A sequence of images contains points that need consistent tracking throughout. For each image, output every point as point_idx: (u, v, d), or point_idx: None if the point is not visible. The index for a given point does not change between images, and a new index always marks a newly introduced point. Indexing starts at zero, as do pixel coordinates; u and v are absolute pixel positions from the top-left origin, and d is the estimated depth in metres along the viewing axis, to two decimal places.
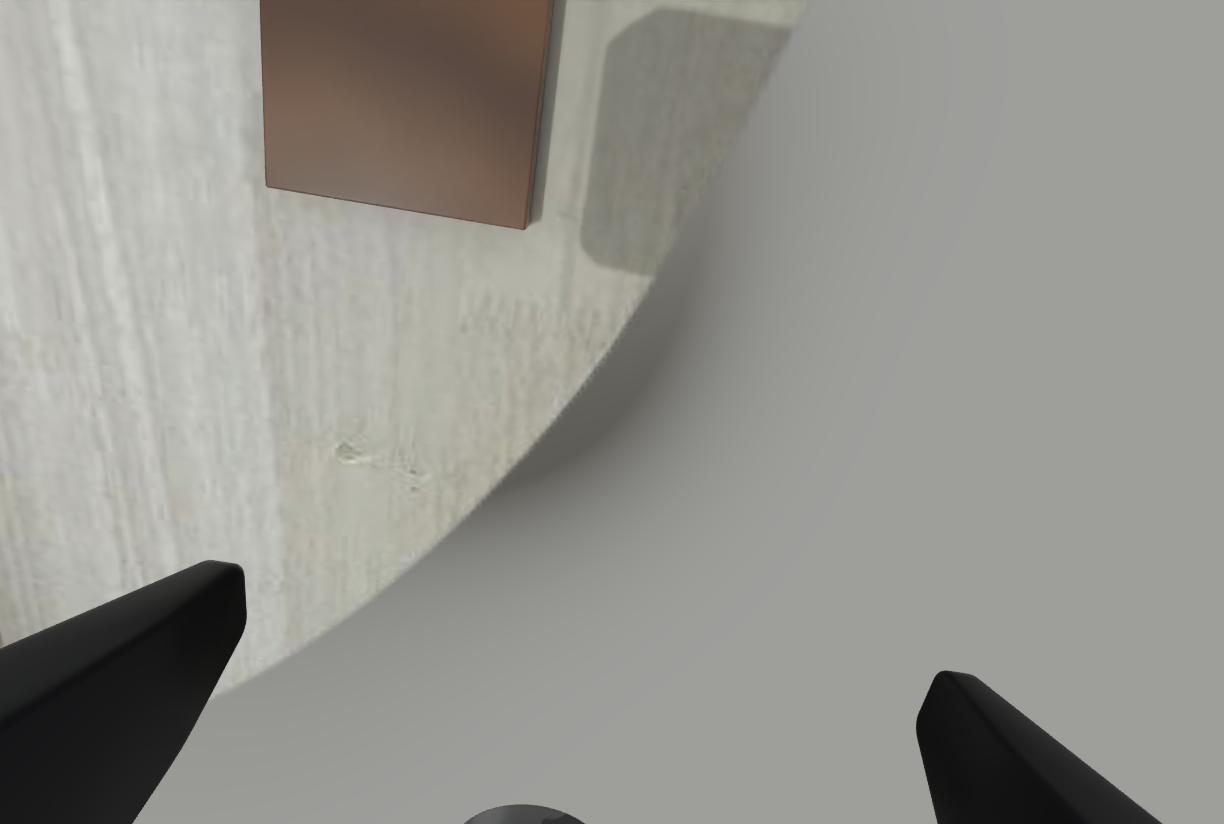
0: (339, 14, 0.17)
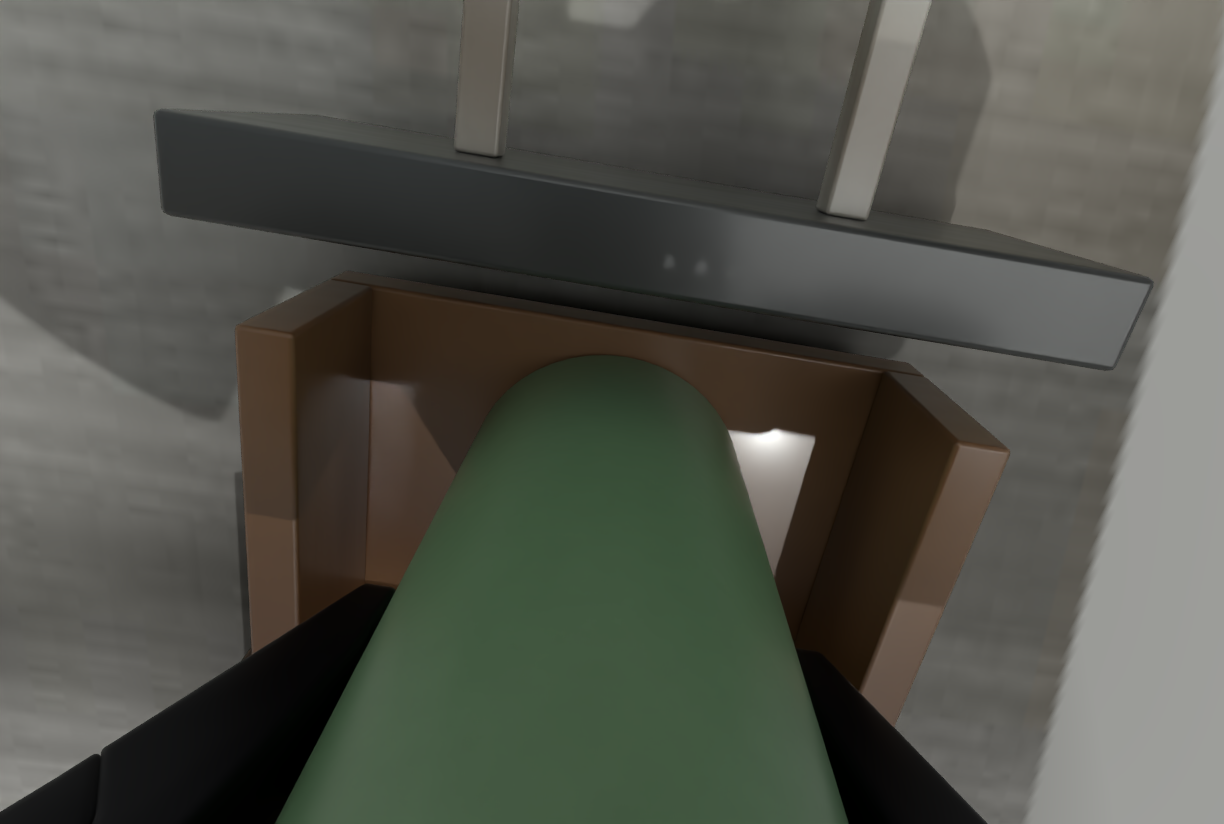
0: None
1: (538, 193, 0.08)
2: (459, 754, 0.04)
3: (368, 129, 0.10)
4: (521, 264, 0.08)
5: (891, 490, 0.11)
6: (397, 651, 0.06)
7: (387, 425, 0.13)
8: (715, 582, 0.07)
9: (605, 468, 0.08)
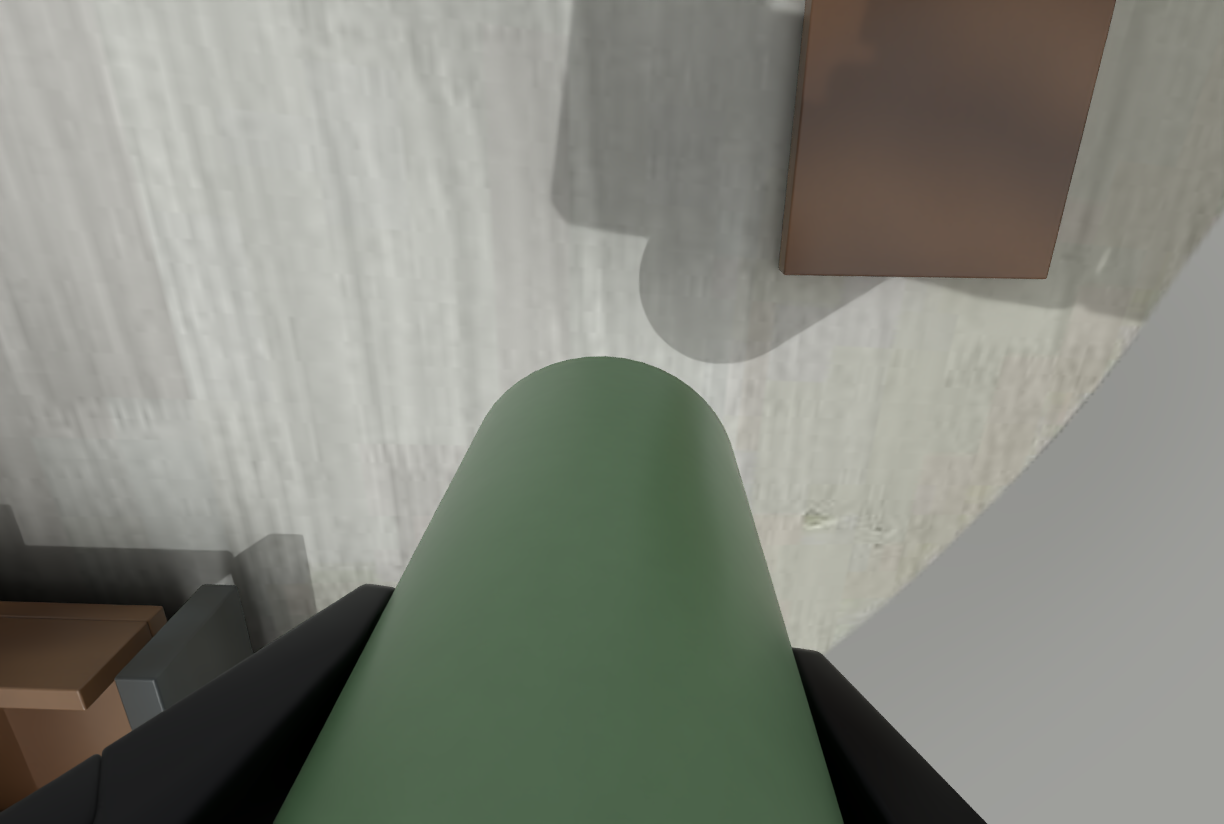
0: (882, 97, 0.17)
1: None
2: (454, 759, 0.04)
3: (221, 652, 0.22)
4: None
5: None
6: (394, 653, 0.06)
7: None
8: (712, 583, 0.07)
9: (602, 470, 0.08)
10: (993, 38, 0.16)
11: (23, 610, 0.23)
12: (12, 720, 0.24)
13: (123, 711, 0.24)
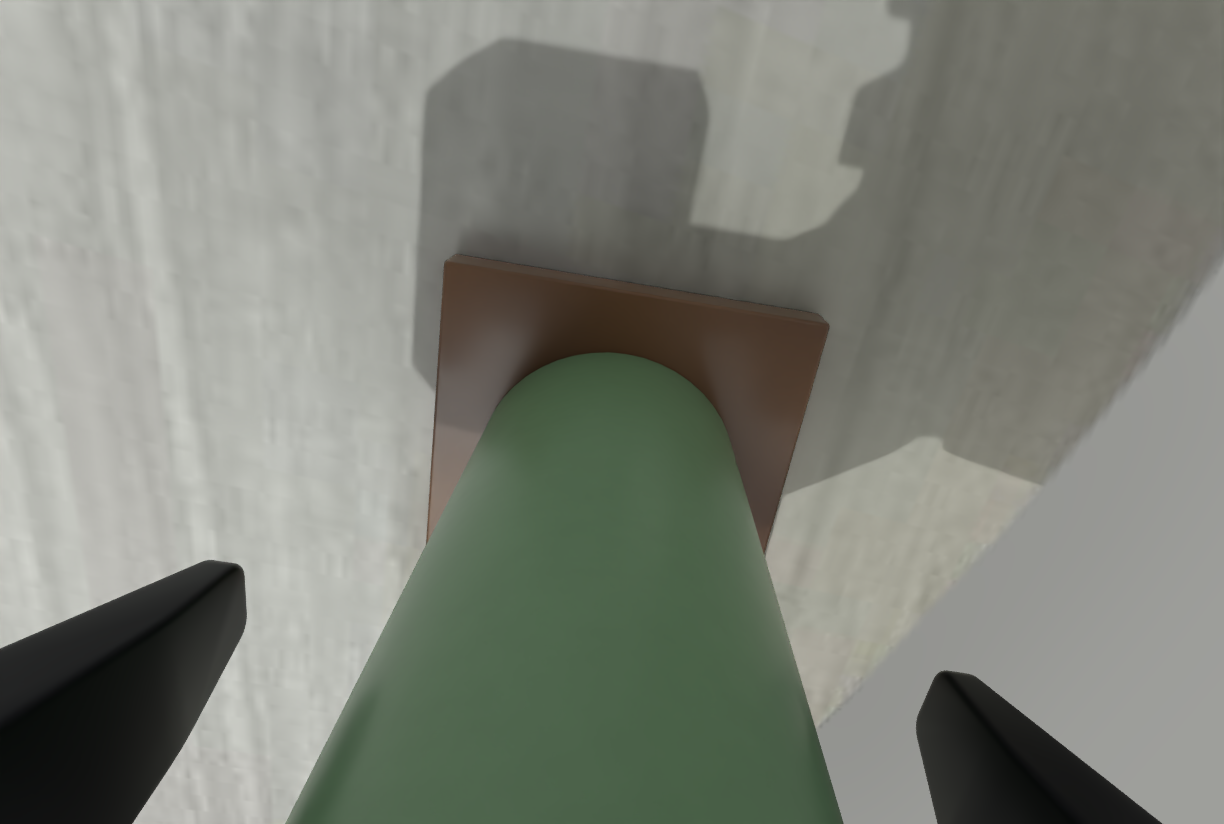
0: None
1: None
2: (481, 699, 0.05)
3: None
4: None
5: None
6: (420, 617, 0.06)
7: None
8: (709, 558, 0.07)
9: (607, 455, 0.09)
10: (671, 369, 0.13)
11: None
12: None
13: None
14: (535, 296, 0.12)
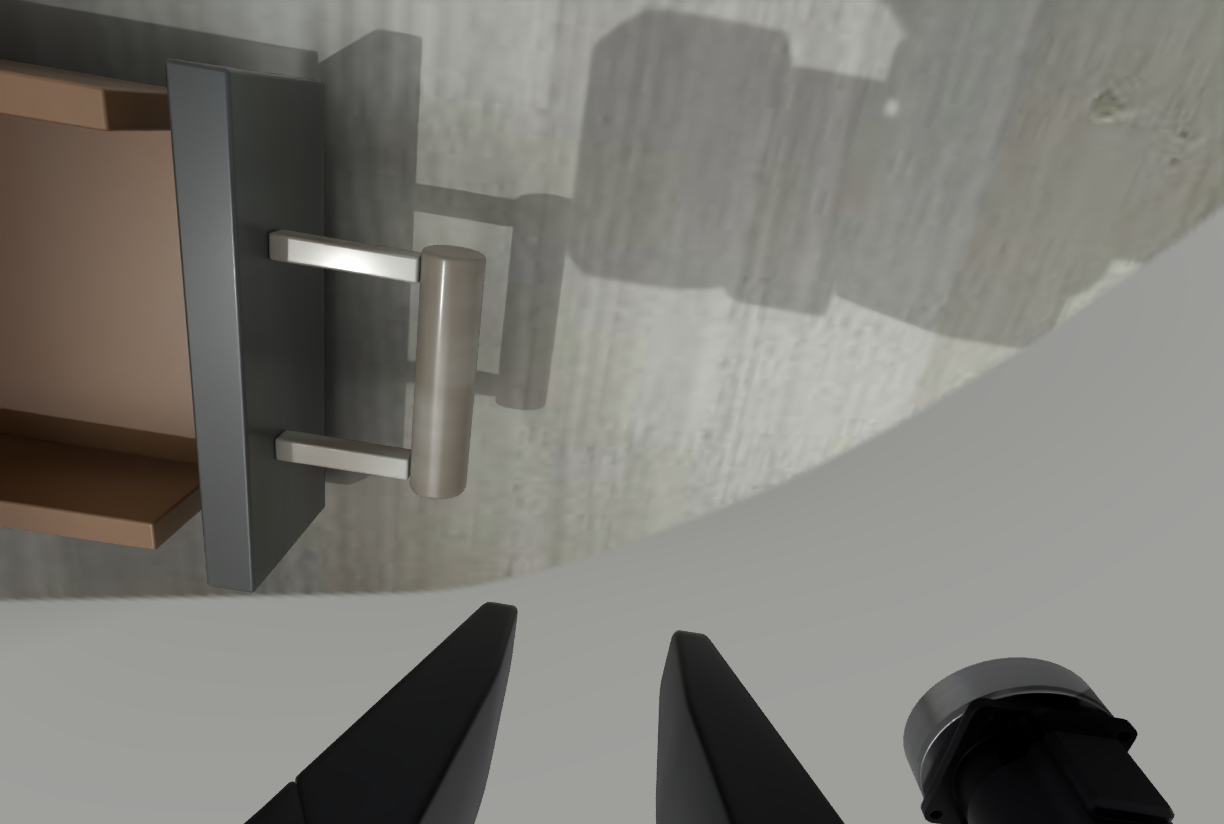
0: None
1: (229, 304, 0.14)
2: None
3: (297, 150, 0.16)
4: (187, 292, 0.14)
5: (127, 489, 0.18)
6: None
7: None
8: None
9: None
10: None
11: (13, 61, 0.16)
12: None
13: (133, 253, 0.17)
14: None
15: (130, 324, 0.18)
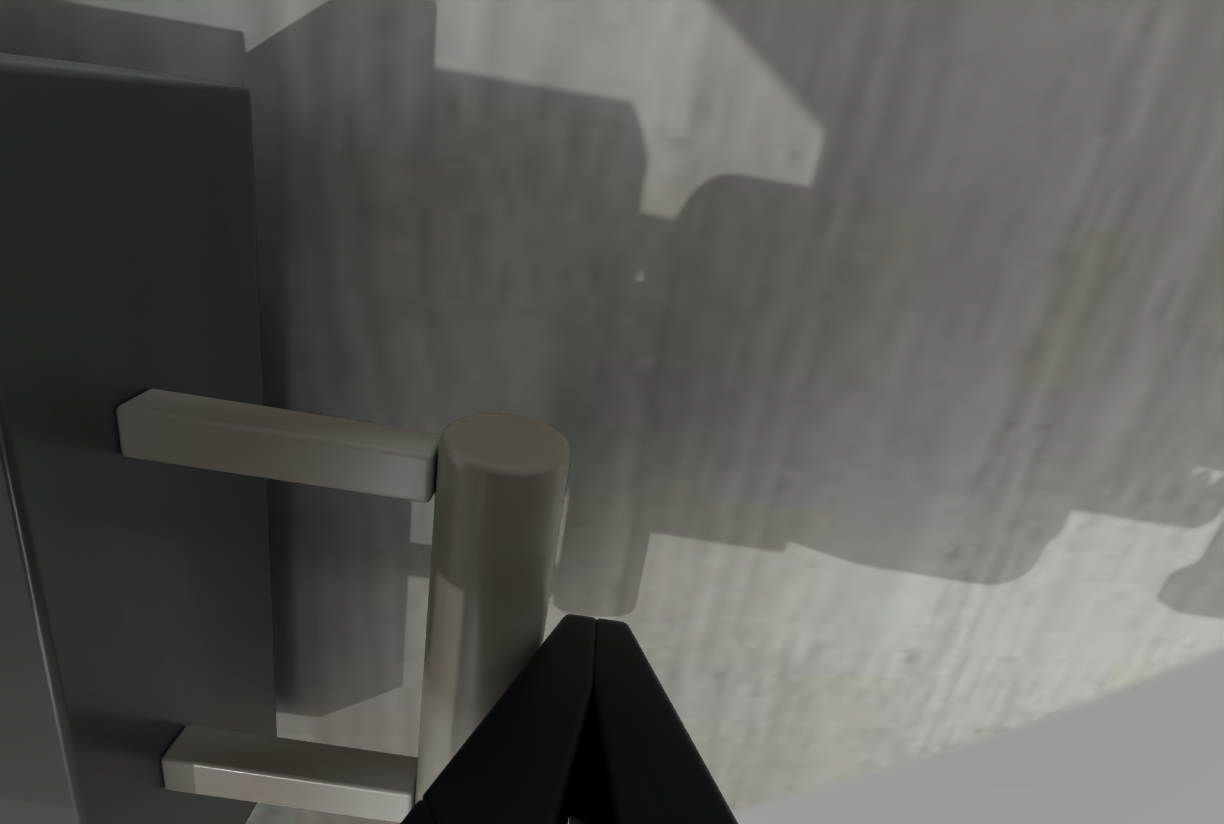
0: None
1: (13, 584, 0.06)
2: None
3: (188, 224, 0.08)
4: None
5: None
6: None
7: None
8: None
9: None
10: None
11: None
12: None
13: None
14: None
15: None
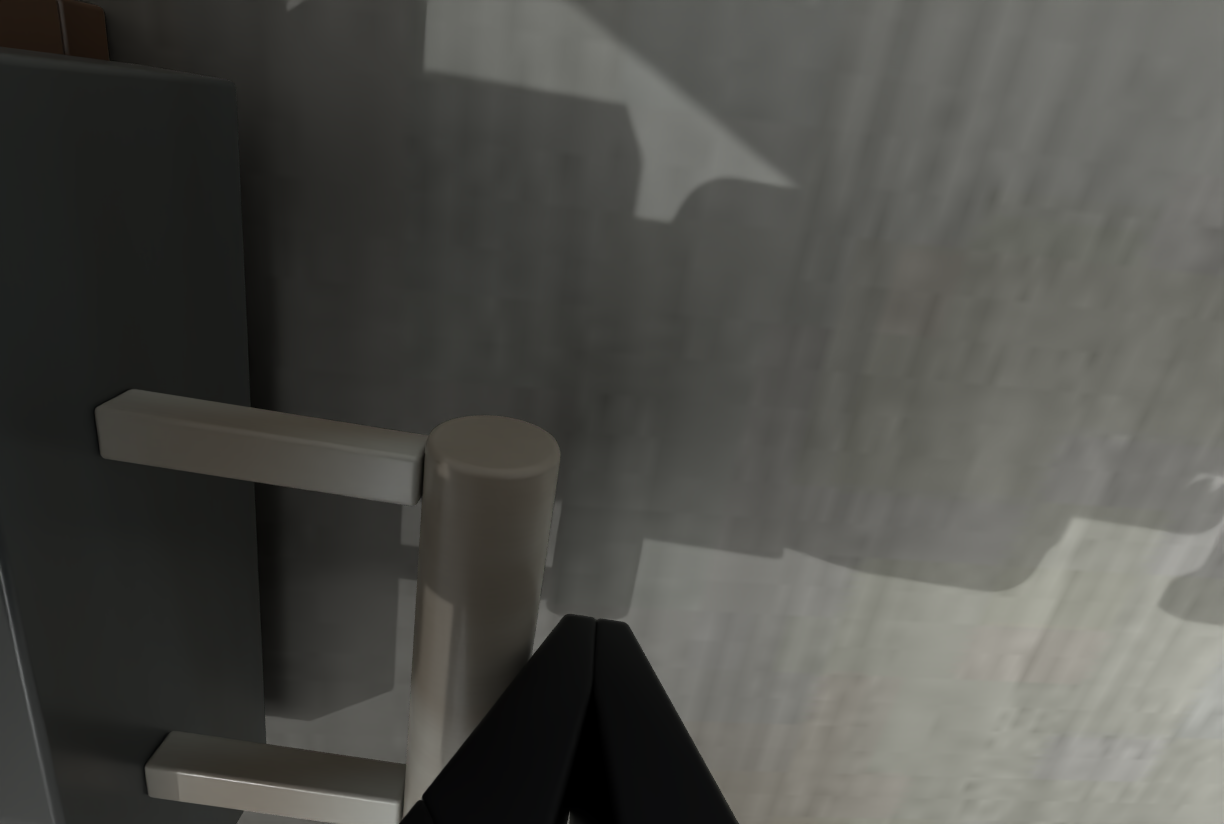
0: None
1: None
2: None
3: (170, 221, 0.08)
4: None
5: None
6: None
7: None
8: None
9: None
10: None
11: None
12: None
13: None
14: None
15: None
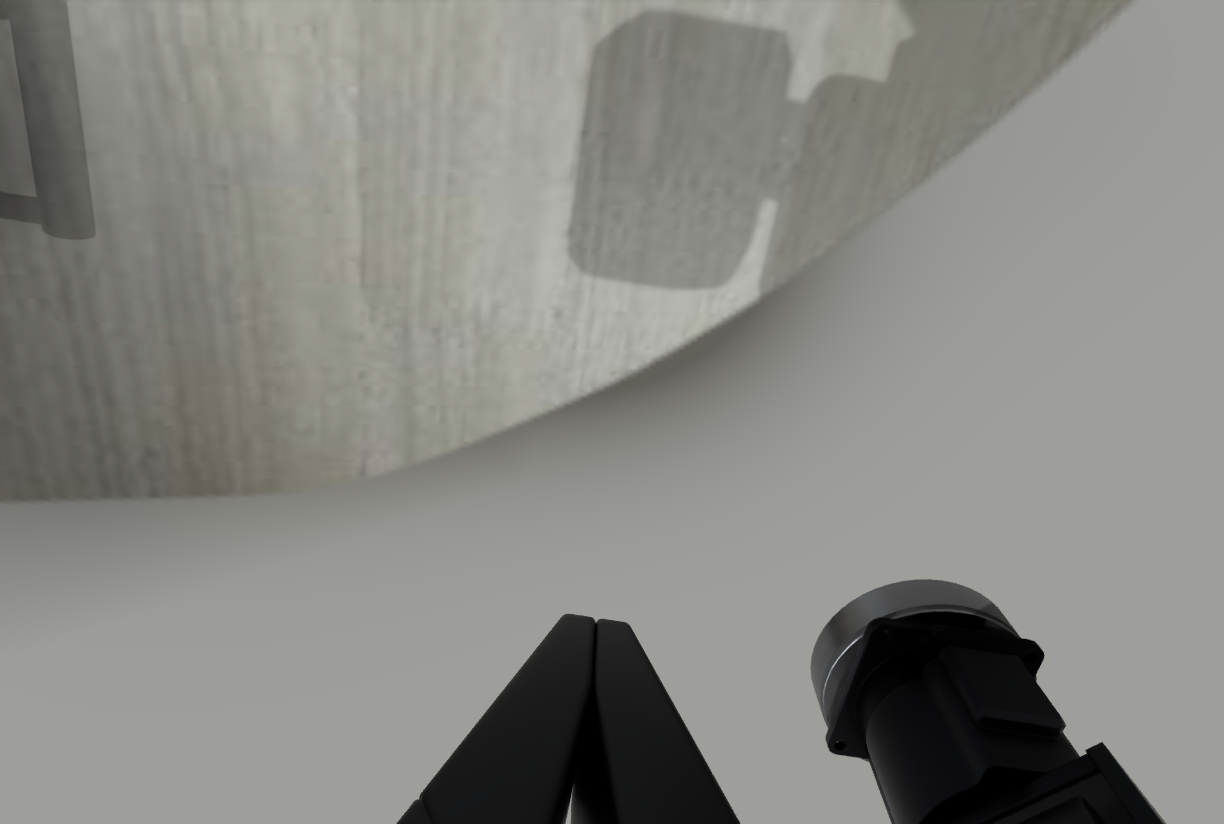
0: None
1: None
2: None
3: None
4: None
5: None
6: None
7: None
8: None
9: None
10: None
11: None
12: None
13: None
14: None
15: None
